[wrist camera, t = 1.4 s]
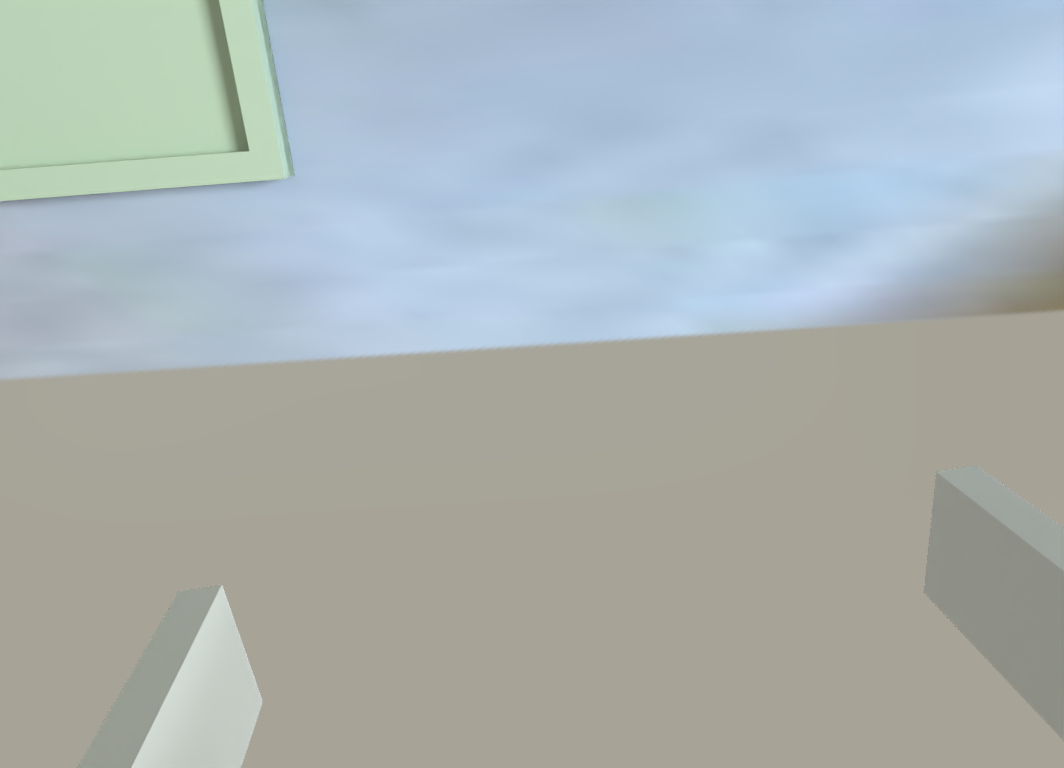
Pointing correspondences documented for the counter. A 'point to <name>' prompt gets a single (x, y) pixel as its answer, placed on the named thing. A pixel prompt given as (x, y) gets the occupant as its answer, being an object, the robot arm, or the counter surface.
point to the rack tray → (136, 96)
